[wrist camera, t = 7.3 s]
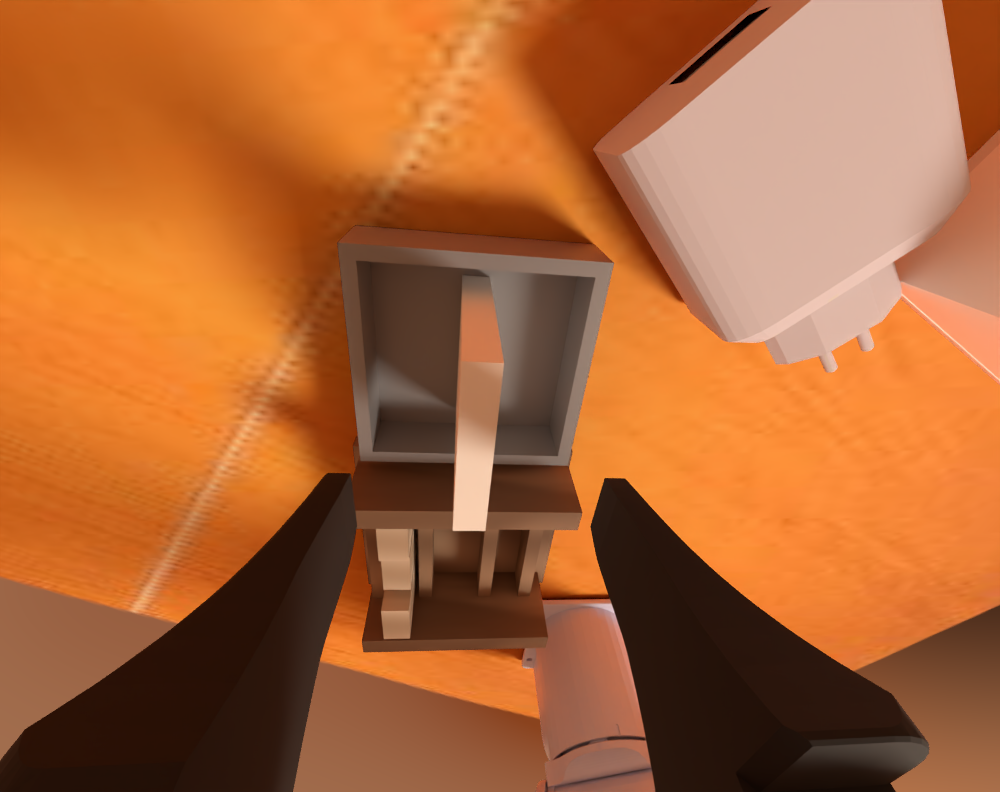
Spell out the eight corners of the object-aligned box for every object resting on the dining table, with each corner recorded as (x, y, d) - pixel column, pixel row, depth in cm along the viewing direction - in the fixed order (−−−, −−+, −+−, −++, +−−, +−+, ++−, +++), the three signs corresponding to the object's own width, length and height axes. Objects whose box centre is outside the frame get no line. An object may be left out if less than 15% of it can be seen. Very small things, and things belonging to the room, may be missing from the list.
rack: (540, 572, 31) (553, 647, 27) (371, 573, 30) (354, 652, 26) (569, 442, 25) (592, 512, 20) (356, 436, 24) (331, 510, 19)
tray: (556, 429, 24) (567, 465, 22) (371, 424, 23) (360, 461, 21) (593, 244, 19) (613, 262, 16) (355, 225, 18) (337, 242, 15)
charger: (732, 387, 24) (586, 147, 17) (907, 281, 21) (816, -55, 14) (786, 440, 20) (624, 155, 13) (1009, 318, 17) (950, -121, 10)
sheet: (478, 408, 23) (485, 531, 16) (456, 408, 22) (452, 530, 16) (489, 277, 19) (503, 363, 12) (462, 275, 19) (461, 361, 12)
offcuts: (417, 570, 29) (410, 638, 25) (394, 571, 29) (383, 638, 25) (415, 467, 24) (405, 532, 20) (387, 466, 24) (373, 531, 20)
